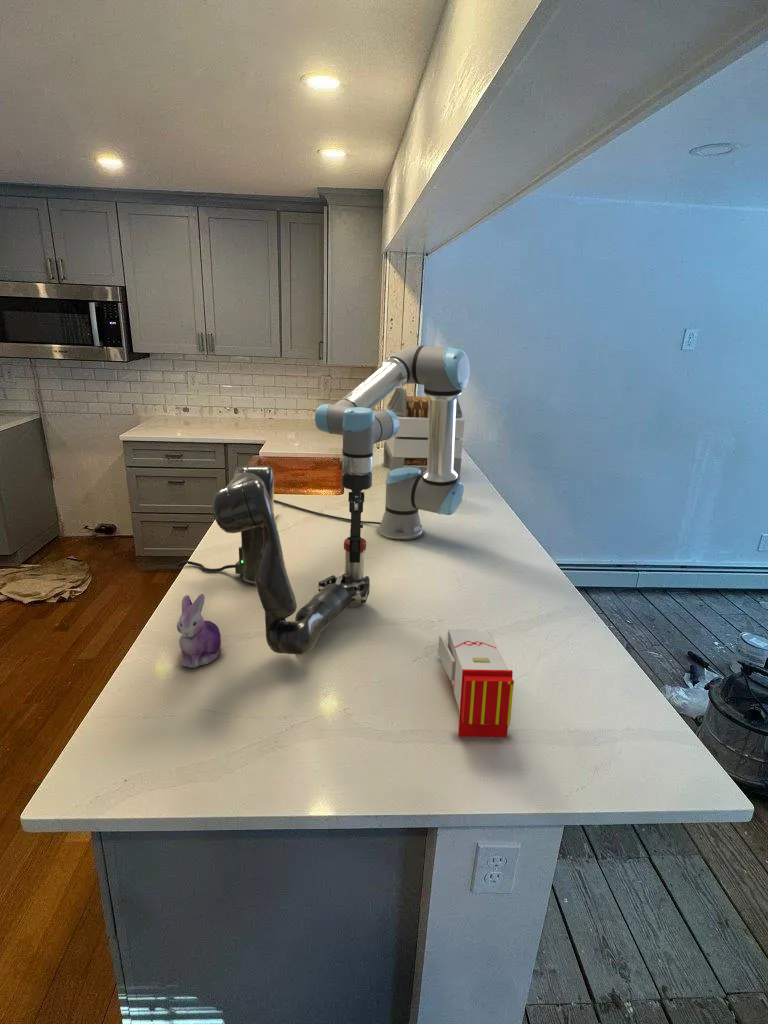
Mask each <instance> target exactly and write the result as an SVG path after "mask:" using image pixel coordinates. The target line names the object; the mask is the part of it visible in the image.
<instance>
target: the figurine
mask: <svg viewBox="0 0 768 1024" xmlns="http://www.w3.org/2000/svg"><path fill="white" fill-rule="evenodd" d="M205 601H206V596H205V594H204V593H200V594H199V595H197V597H196V598H195V600H194V601H193V602H192V598H191V597H190V595H189V594H186V595H184V596H183V597H182V600H181V614H180V616H179V619H178V621H177V623H176V630H177V632H178V633H179V634H181V635H180V637H179V641H178V642H179V644H178V645H179V648H180V650H181V655H182V658H181V665H182V666H184V667H188V668H198V667H199V666H205V665H208V664H210V663H211V662H213V661H215V660H216V659H218V658H219V657H220V655H221V648H222V634H221V632H220V629H219V627H218V625H217V624H216V623H215V622H214V621H211V620H204V617H203V615H202V611H203V608H204V604H205Z"/></svg>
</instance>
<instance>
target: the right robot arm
mask: <svg viewBox="0 0 768 1024" xmlns="http://www.w3.org/2000/svg"><path fill="white" fill-rule="evenodd" d="M470 366H471V365H470V361H469V358H468V355H467V354H466V352H465V351H464V349H461V348H457V347H455V348H454V347H451V346H437V345H436V346H435V345H420V344H416V345H411V346H408V347H405V348H402V349H400V350H398V351H396V352H394V353H392V354H391V355H389V356H388V357H387V358H386V357H385V359H384V360H383V361H382V362H381V363H380V365H379V368H377V370H376V371H374V372H373V373H372V374H370V375H369V376H368V377H366V379H365V380H363V381H362V382H361V383H359V384H358V385H357V386H355V387H354V388H353V389H352V390H351V391H350V392H348V393H347V394H346V395H344V396H343V397H342V398H341V399H339V400H338V401H337V402H335V403H334V404H331V403H322V404H320V405H319V406H318V407H317V409H316V411H315V413H314V422H315V426H316V428H317V429H318V430H319V431H320V432H324V433H328V434H329V435H337V436H342V457H339V461H340V462H341V469H342V472H341V486H342V488H344V489H346V490H350V491H348V503H349V505H348V506H349V507H348V510H349V511H348V512H349V513H350V518H347V517H341V516H336V515H331V514H327V513H322V512H317V511H314V510H310V509H307V508H303V507H299V506H297V505H293V504H291V503H290V504H289V503H286V502H283V501H280V500H277V499H274V503H277V504H280V505H283V506H287V507H290V508H293V509H297V510H300V511H302V512H307V513H311V514H313V515H314V514H315V515H318V516H323V517H327V518H332V519H335V520H336V519H337V520H342V521H347V522H350V530H349V531H350V533H349V536H347V538H346V539H347V540H350V554H349V562H350V563H360V543H361V538H362V537H361V533H362V530H361V529H364V524H369V525H379V526H378V533H379V534H380V535H381V536H382V537H385V538H387V539H389V540H395V541H410V540H415V539H418V538H420V537H421V536H422V535H423V525H422V524H421V518H420V515H419V510H421V511H426V512H429V513H433V514H434V513H435V514H438V515H445V516H452V515H453V514H454V513H456V511H457V510H458V508H459V506H460V504H461V502H462V499H463V496H464V491H465V487H464V483H463V482H461V481H460V482H458V474H457V473H456V472H455V471H454V470H453V467H454V444H455V421H456V399H457V398H458V397H459V396H461V395H462V392H463V390H464V389H466V388H467V387H468V384H469V379H470V376H471V367H470ZM409 384H413V385H414V384H415V385H421V386H423V393H424V395H425V397H428V398H429V409H428V454H427V466H426V470H424V471H423V472H422V470H421V468H419V467H414V466H411V467H409V466H406V467H405V466H404V468H397V469H393V470H391V471H390V470H389V471H388V473H387V475H386V480H385V504H384V505H385V507H384V508H385V509H384V513H383V515H382V519H381V522H380V521H368V520H367V521H366V520H362V513H363V512H364V503H365V491H364V490H369V489H370V488H371V487H372V486H373V473H372V471H373V467H374V445H375V444H377V443H381V442H385V440H388V439H390V438H391V437H393V436H395V435H396V434H397V432H398V430H399V426H400V424H399V419H398V417H397V415H396V414H395V413H394V412H392V411H390V410H387V409H380V410H373V409H374V408H375V407H376V406H377V405H378V404H379V403H380V402H382V401H383V400H384V399H385V398H387V396H389V395H390V394H391V393H392V392H393V391H395V390H396V388H401V387H402V388H403V387H404V386H405V385H409Z"/></svg>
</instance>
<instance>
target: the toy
mask: <svg viewBox="0 0 768 1024" xmlns="http://www.w3.org/2000/svg"><path fill="white" fill-rule="evenodd" d="M446 640H447V643H446V641H445V639H444V636H443V635H442V634H439V637H438V646H437V656H438V657H439V659H440V661H441V663H442V666H443V668H444V670H445V672H446V674H447V677H448V679H449V681H450V684H451V687H452V690H453V693H454V697H455V701H456V705H457V708H458V711H459V714H458V715H459V716H458V730H457V731H458V732H457V737H458V738H508V731H509V726H510V725H511V717H512V707H513V697H514V696H513V695H514V684H515V680H514V679H513V673H514V671H513V670H512V669H508V667H507V665H506V662H505V661H504V659H503V658H502V655H501V653H500V651H499V649H498V647H497V643H496V639H495V637H494V635H493V634H491V632H490V631H489V629H467V628H466V629H465V628H463V629H461V628H460V629H459V628H448V630H447V639H446Z"/></svg>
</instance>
